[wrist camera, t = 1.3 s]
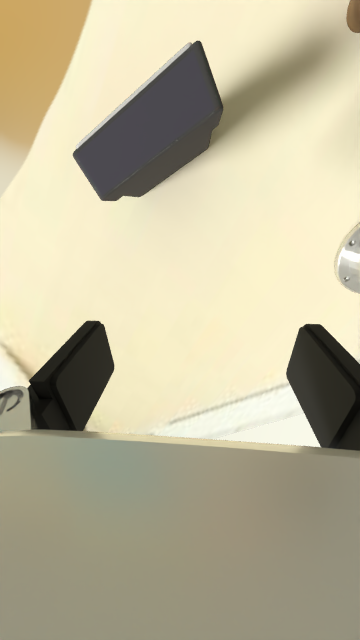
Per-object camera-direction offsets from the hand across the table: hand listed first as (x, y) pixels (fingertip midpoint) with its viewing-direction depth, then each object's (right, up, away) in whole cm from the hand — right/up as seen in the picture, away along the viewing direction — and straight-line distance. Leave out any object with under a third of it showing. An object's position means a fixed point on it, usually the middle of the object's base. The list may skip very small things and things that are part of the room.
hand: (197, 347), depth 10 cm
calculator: (-3, +22, +17) cm, 29 cm away
